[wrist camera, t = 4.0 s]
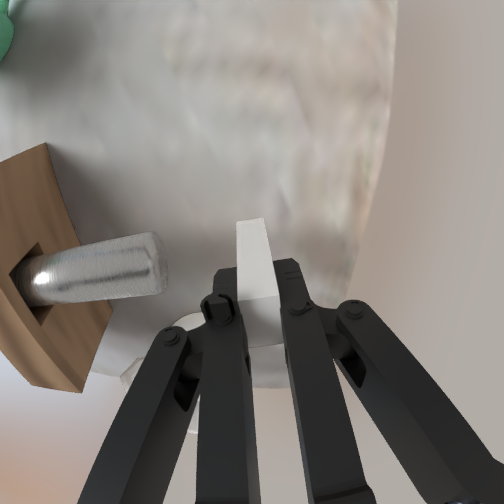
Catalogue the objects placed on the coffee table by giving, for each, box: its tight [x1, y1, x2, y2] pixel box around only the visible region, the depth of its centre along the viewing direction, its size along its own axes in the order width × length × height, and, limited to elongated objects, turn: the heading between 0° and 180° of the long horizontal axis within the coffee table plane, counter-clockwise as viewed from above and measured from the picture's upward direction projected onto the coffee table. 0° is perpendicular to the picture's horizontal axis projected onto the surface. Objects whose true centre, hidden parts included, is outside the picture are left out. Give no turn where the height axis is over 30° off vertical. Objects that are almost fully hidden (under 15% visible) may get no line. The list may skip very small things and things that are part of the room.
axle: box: [9, 231, 168, 307], centre depth 16 cm, size 20×4×4 cm, turn 98°
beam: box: [0, 142, 113, 393], centre depth 17 cm, size 7×18×10 cm, turn 8°
